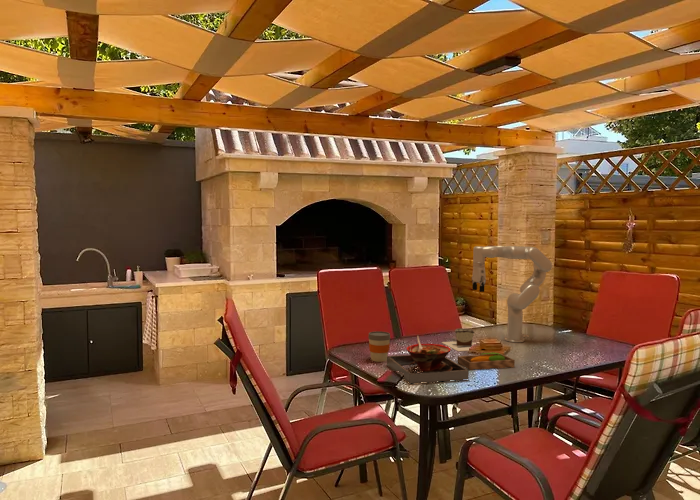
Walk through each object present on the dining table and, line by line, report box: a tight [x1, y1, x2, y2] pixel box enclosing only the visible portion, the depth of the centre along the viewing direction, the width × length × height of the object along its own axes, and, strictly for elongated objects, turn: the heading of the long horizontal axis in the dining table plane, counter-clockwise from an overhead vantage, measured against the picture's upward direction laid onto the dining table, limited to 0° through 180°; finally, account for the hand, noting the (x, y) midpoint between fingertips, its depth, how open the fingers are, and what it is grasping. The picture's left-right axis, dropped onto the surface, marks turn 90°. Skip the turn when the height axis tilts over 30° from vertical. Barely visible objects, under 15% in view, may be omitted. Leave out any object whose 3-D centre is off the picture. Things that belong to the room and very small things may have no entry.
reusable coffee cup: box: [367, 330, 391, 363], centre depth 305 cm, size 12×13×15 cm
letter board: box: [441, 341, 476, 353], centre depth 341 cm, size 20×24×1 cm
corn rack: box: [457, 353, 516, 371], centre depth 296 cm, size 27×14×4 cm, turn 105°
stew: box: [406, 335, 453, 373], centre depth 285 cm, size 28×24×16 cm
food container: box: [454, 328, 475, 346], centre depth 342 cm, size 12×6×10 cm, turn 91°
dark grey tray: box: [386, 354, 470, 384], centre depth 280 cm, size 31×35×5 cm
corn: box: [470, 351, 505, 362], centre depth 294 cm, size 7×8×20 cm
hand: (478, 290), depth 356 cm, fingers open, 9 cm apart
